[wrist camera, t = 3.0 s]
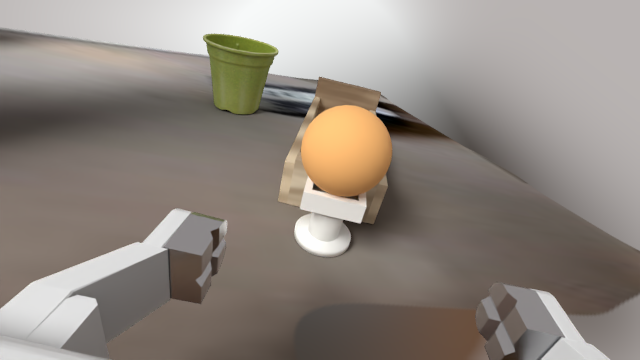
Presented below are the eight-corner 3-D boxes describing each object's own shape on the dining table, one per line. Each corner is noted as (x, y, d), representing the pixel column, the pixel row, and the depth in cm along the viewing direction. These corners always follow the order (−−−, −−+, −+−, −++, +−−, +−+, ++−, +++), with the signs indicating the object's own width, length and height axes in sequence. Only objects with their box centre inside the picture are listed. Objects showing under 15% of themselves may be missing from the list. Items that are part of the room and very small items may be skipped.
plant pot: (281, 119, 45) (291, 55, 40) (216, 121, 39) (219, 48, 35) (252, 96, 51) (258, 38, 46) (192, 95, 45) (192, 30, 41)
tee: (348, 263, 23) (368, 208, 20) (289, 249, 23) (301, 192, 20) (349, 226, 27) (366, 175, 24) (299, 214, 27) (310, 162, 24)
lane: (373, 225, 28) (398, 159, 24) (277, 202, 27) (289, 133, 24) (366, 135, 46) (380, 91, 43) (310, 121, 46) (319, 76, 43)
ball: (277, 188, 21) (292, 101, 18) (317, 159, 26) (334, 87, 23) (360, 227, 19) (392, 138, 16) (385, 188, 24) (413, 114, 21)
